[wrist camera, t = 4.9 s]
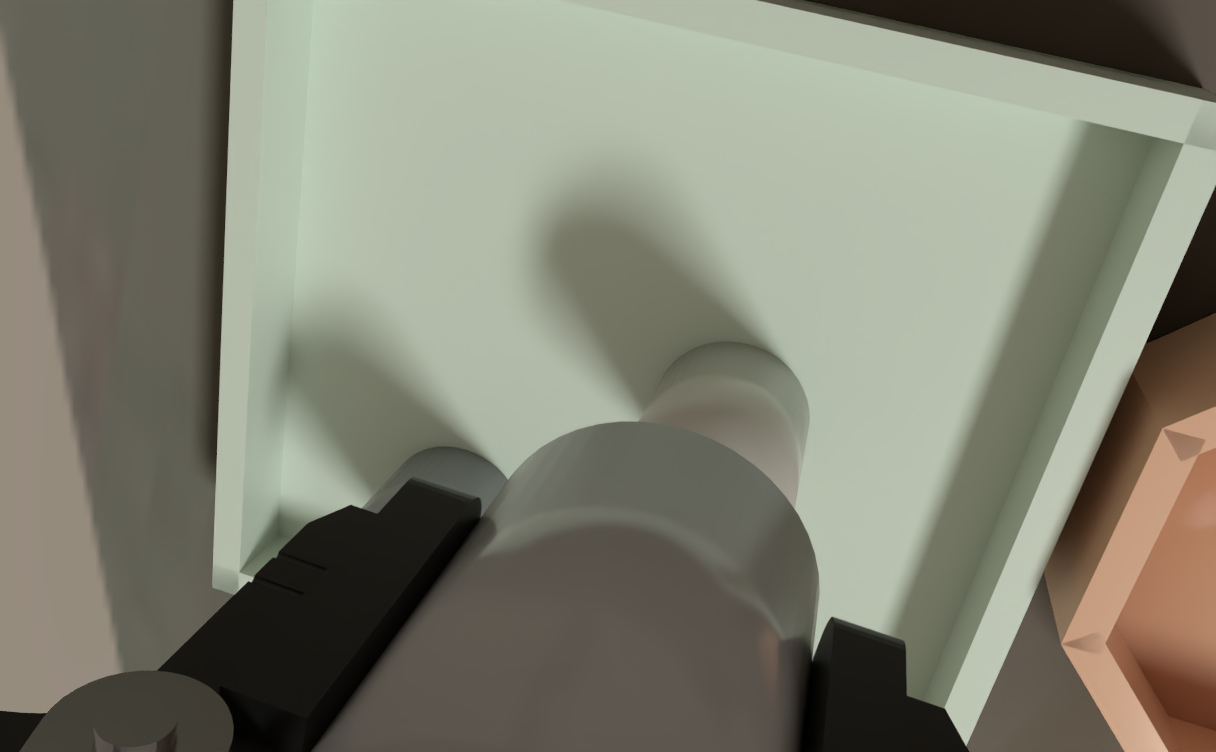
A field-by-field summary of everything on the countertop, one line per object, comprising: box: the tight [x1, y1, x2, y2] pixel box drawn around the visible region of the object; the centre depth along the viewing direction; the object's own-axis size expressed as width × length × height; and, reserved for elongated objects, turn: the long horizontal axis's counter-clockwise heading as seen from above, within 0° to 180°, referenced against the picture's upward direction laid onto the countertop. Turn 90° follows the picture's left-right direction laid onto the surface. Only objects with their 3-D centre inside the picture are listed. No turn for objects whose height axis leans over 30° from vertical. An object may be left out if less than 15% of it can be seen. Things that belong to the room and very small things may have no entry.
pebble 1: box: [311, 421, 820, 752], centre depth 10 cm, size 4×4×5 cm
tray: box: [212, 0, 1216, 745], centre depth 25 cm, size 18×20×3 cm
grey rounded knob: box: [362, 446, 508, 517], centre depth 26 cm, size 4×4×5 cm
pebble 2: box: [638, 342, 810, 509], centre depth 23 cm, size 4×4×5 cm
